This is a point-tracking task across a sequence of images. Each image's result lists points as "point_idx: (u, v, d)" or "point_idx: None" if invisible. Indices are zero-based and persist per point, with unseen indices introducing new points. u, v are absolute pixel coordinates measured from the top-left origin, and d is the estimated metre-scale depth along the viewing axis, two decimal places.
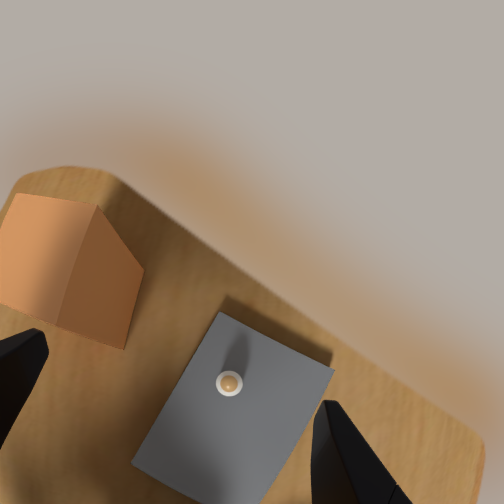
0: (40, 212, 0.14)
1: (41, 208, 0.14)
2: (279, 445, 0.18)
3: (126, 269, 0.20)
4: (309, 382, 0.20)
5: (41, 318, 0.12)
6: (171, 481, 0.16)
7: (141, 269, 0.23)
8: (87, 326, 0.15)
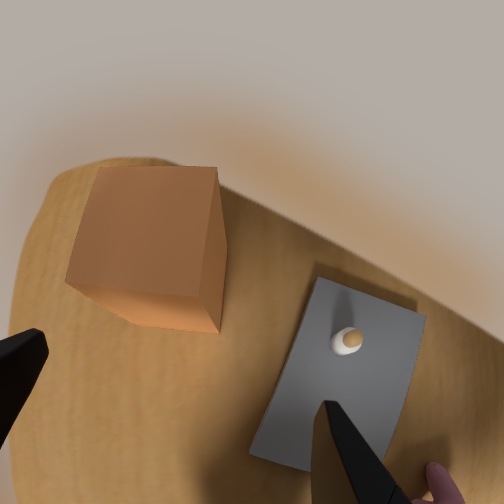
0: (143, 181, 0.15)
1: (142, 177, 0.15)
2: (393, 396, 0.18)
3: (223, 244, 0.20)
4: (408, 331, 0.20)
5: (175, 292, 0.12)
6: (296, 461, 0.17)
7: (226, 247, 0.23)
8: (209, 302, 0.16)
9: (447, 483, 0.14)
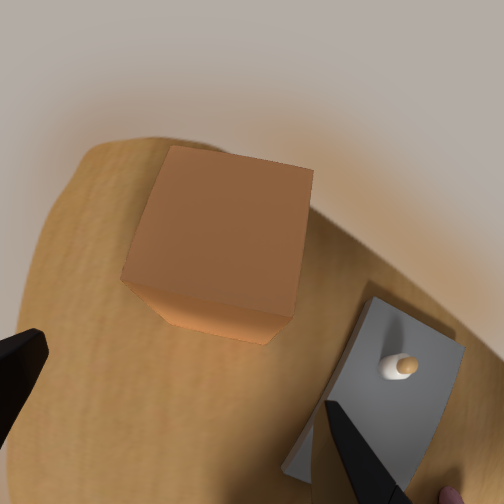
0: (227, 171, 0.13)
1: (226, 166, 0.13)
2: (427, 423, 0.17)
3: None
4: (448, 360, 0.18)
5: (267, 310, 0.11)
6: None
7: None
8: None
9: None
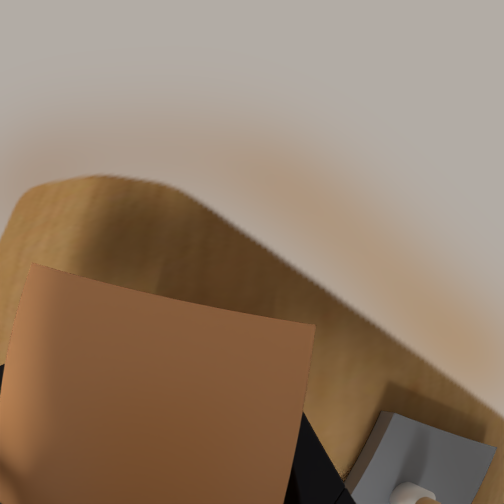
0: (123, 337, 0.06)
1: (121, 324, 0.06)
2: None
3: None
4: (476, 468, 0.11)
5: None
6: None
7: None
8: None
9: None
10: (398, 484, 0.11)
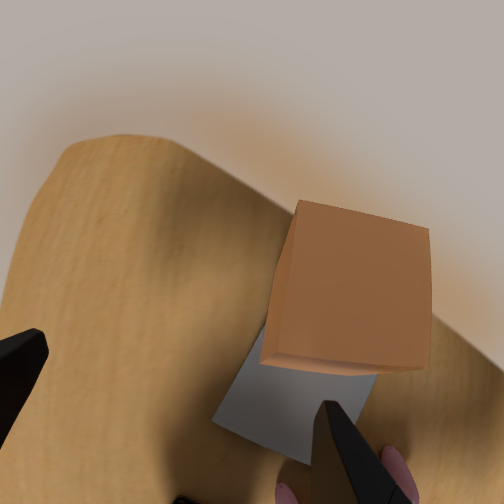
0: (361, 231, 0.13)
1: (358, 226, 0.13)
2: (359, 385, 0.20)
3: None
4: None
5: (410, 364, 0.11)
6: (255, 435, 0.18)
7: None
8: None
9: (401, 469, 0.16)
10: None
